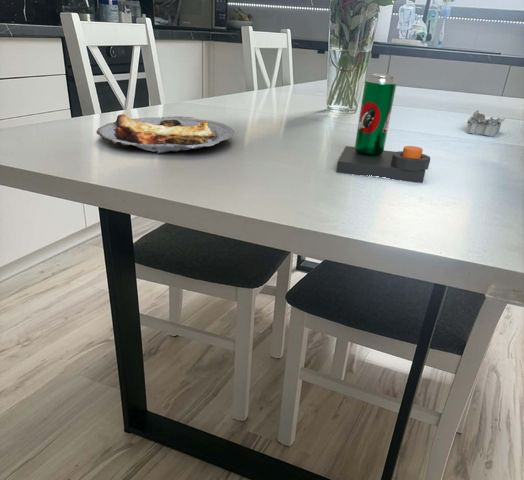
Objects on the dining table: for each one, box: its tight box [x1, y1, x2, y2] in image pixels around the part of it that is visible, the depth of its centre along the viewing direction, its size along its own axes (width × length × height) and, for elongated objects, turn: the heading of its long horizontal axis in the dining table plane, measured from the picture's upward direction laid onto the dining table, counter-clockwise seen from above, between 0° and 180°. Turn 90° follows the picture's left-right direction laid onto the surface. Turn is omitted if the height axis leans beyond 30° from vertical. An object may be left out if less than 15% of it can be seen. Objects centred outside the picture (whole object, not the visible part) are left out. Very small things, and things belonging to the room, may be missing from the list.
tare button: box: [402, 145, 423, 159], centre depth 77 cm, size 3×3×2 cm
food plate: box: [96, 113, 235, 154], centre depth 90 cm, size 25×23×4 cm
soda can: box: [354, 73, 397, 156], centre depth 81 cm, size 5×5×12 cm
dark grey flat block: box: [335, 145, 431, 184], centre depth 82 cm, size 14×12×4 cm
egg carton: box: [465, 109, 506, 137], centre depth 117 cm, size 11×8×4 cm
